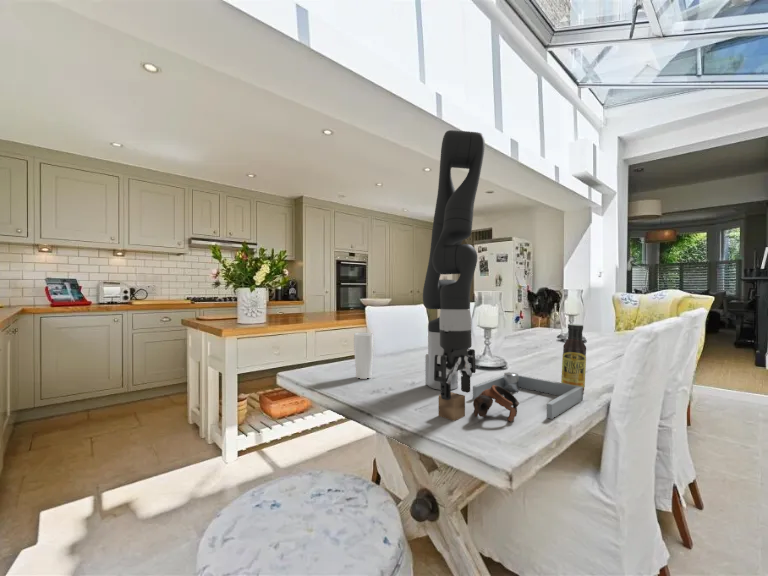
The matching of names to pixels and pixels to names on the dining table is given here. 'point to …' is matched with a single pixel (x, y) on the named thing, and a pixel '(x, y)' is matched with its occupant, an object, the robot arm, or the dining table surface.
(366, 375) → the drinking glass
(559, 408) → the corral
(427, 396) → the dining table surface
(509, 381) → the peg
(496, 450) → the dining table surface
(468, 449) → the dining table surface
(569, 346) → the sauce bottle
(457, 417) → the block
